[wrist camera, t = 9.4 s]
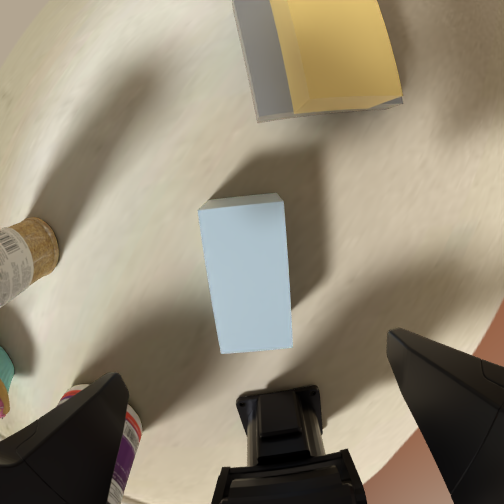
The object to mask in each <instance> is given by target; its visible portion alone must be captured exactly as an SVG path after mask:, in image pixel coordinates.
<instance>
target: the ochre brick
mask: <svg viewBox="0 0 504 504" xmlns="http://www.w3.org/2000/svg"><path fill="white" fill-rule="evenodd" d="M270 4H271V8H272V12H273V16H274V21H275V25H276V29H277V33H278V38H279V42H280V46H281V51H282V56H283V60H284V65H285V70H286V75H287V79H288V84H289V90H290V95H291V100H292V105H293V111H294V114H300V113H310V112H321V111H333V110H349V109H368V108H371V107H374V106H376V105H379V104H382V103H384V102H387V101H390V100H393V99H395V98H398V97H401V96H403V94H402V89H401V84H400V79H399V75H398V71H397V66H396V62H395V58H394V55H393V51H392V47H391V43H390V40H389V36H388V33H387V30H386V26H385V23H384V20H383V17H382V14H381V11H380V8H379V5H378V2H377V0H270Z"/></svg>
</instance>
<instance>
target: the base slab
mask: <svg viewBox="0 0 504 504" xmlns="http://www.w3.org/2000/svg"><path fill="white" fill-rule="evenodd" d="M232 5H233V12H234V16H235V20H236V25H237V29H238V33H239V38H240V42H241V47H242V51H243V56H244V61H245V65H246V70H247V74H248V79H249V84H250V89H251V93H252V98H253V103H254V108H255V113H256V118H257V123H262V122H268V121H274V120H281V119H287V118H295V117H302V116H310V115H319V114H328V113H339V112H350V111H364V110H383V109H387V108H391V107H394V106H397V105H400V104H403V100H402V96H401V97H398V98H395V99H393V100H390V101H387V102H384V103H382V104H379V105H376V106H374V107H371V108H368V109H349V110H333V111H321V112H310V113H300V114H294V111H293V105H292V100H291V95H290V90H289V84H288V79H287V75H286V70H285V65H284V60H283V56H282V51H281V46H280V42H279V38H278V33H277V29H276V25H275V21H274V16H273V12H272V8H271V4H270V0H232Z"/></svg>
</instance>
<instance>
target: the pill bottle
mask: <svg viewBox="0 0 504 504" xmlns="http://www.w3.org/2000/svg"><path fill="white" fill-rule="evenodd" d="M87 386H89V384H81V385H76V386H73V387H71V388H70V389H68V390H67V391H66V393H65V394H64V396H63V397H62V398H61V400H60V402H59V403H58V405H57V406H59V405H60V404H62V403H63V402H65V401H66V400H68V399H69V398H71V397H72V396H74V395H75V394H77V393H78V392H80V391H81V390H83V389H84V388H86V387H87ZM57 406H56V407H57ZM141 436H142V424H141V421H140V419H139V417H138V415H137V414H136V412H135V411H134V410H133V409H132V407H131V406H130V405H127V412H126V419H125V425H124V431H123V436H122V440H121V444H120V448H119V452H118V456H117V460H116V464H115V468H114V473H113V477H112V482H111V486H110V491H109V496H108V501H107V504H121V500H122V497H123V494H124V490H125V487H126V483H127V480H128V477H129V474H130V470H131V467H132V464H133V461H134V458H135V454H136V451H137V448H138V445H139V442H140V439H141Z"/></svg>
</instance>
